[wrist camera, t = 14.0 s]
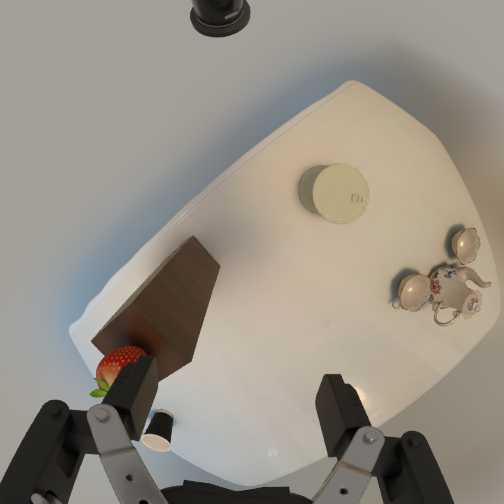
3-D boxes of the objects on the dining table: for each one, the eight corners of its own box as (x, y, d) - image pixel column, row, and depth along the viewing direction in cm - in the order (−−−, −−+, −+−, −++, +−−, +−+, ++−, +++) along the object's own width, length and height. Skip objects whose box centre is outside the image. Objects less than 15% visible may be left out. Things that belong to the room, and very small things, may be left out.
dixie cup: (181, 424, 66) (174, 452, 56) (156, 423, 66) (147, 450, 56) (173, 406, 64) (164, 436, 54) (147, 405, 64) (136, 433, 54)
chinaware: (455, 210, 53) (500, 216, 37) (479, 261, 55) (520, 277, 38) (377, 287, 57) (409, 316, 41) (408, 334, 59) (439, 368, 43)
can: (339, 218, 52) (363, 230, 40) (294, 209, 51) (307, 218, 40) (349, 172, 49) (375, 171, 38) (303, 161, 49) (319, 156, 37)
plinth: (193, 235, 52) (132, 302, 23) (220, 266, 54) (191, 361, 25) (164, 260, 54) (90, 341, 25) (190, 290, 55) (143, 391, 26)
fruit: (164, 376, 26) (143, 432, 18) (119, 368, 25) (90, 418, 18) (159, 333, 24) (130, 389, 17) (110, 326, 24) (72, 374, 16)
